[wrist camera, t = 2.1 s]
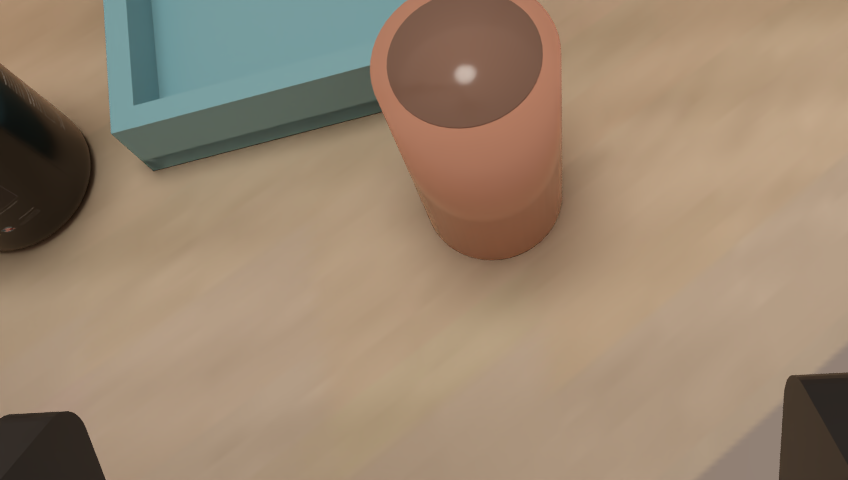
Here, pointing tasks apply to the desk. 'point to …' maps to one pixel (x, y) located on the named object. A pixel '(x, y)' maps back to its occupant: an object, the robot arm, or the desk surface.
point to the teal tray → (235, 71)
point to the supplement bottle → (37, 165)
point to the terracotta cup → (476, 117)
